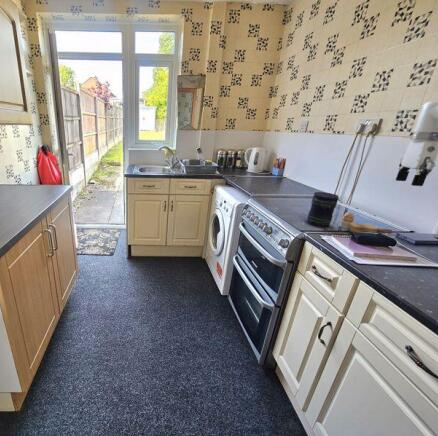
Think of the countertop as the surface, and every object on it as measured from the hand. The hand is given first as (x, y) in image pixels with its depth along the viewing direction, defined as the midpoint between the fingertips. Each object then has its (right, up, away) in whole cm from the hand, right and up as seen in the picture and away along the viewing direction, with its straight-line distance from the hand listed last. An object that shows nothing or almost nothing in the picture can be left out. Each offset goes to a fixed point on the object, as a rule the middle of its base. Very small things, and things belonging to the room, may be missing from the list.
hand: (408, 183), depth 96 cm
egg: (-7, -18, +22) cm, 29 cm away
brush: (-3, -21, +14) cm, 26 cm away
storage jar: (-18, -17, +25) cm, 35 cm away
